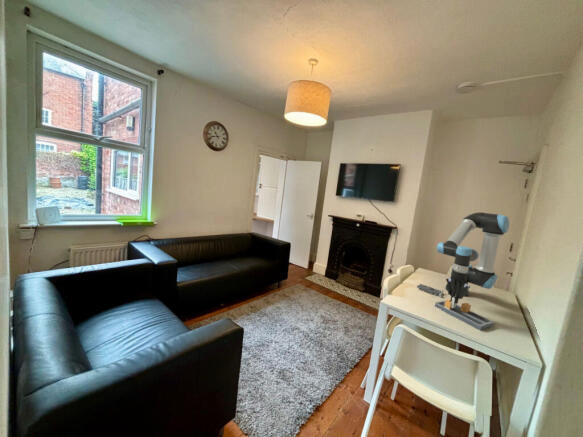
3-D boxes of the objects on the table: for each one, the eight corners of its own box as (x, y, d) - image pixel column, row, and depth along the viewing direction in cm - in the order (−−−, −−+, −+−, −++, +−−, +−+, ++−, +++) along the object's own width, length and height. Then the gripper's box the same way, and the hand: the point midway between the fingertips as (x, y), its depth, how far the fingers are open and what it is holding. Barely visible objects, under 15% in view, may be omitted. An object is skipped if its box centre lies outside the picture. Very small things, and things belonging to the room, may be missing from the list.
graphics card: (445, 290, 174) (441, 293, 165) (444, 294, 174) (440, 298, 166) (421, 282, 186) (416, 284, 177) (420, 286, 186) (415, 289, 178)
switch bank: (447, 304, 156) (448, 299, 156) (493, 326, 133) (494, 321, 133) (434, 306, 150) (435, 302, 150) (480, 330, 127) (481, 325, 127)
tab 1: (447, 305, 148) (449, 298, 147) (453, 308, 145) (454, 300, 145) (444, 306, 146) (445, 299, 146) (449, 309, 144) (451, 301, 143)
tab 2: (463, 309, 146) (465, 301, 145) (469, 311, 143) (471, 304, 142) (460, 310, 144) (462, 302, 143) (465, 312, 141) (467, 305, 141)
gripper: (445, 268, 145) (439, 303, 148) (468, 275, 134) (460, 313, 136) (452, 267, 148) (445, 301, 151) (475, 274, 137) (467, 311, 140)
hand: (452, 307), depth 144 cm, fingers closed
